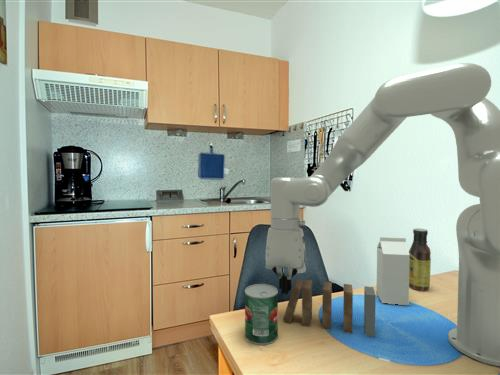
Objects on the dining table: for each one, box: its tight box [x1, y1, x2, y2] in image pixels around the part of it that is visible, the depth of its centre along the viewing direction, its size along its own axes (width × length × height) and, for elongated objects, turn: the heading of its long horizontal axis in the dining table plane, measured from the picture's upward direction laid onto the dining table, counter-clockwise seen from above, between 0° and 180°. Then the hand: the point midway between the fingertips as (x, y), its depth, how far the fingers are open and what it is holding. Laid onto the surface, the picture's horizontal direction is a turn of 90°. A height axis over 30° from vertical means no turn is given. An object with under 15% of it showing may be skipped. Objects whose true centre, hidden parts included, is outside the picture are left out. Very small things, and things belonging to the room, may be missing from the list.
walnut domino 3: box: [321, 281, 333, 331], centre depth 71 cm, size 2×5×10 cm, turn 162°
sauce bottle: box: [408, 227, 432, 292], centre depth 92 cm, size 7×6×20 cm
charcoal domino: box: [363, 285, 377, 338], centre depth 68 cm, size 2×5×10 cm, turn 162°
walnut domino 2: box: [301, 279, 313, 327], centre depth 72 cm, size 2×5×10 cm, turn 162°
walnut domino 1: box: [282, 277, 304, 324], centre depth 73 cm, size 2×5×10 cm, turn 162°
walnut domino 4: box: [342, 283, 354, 334], centre depth 69 cm, size 2×5×10 cm, turn 162°
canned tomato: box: [244, 283, 279, 346], centre depth 66 cm, size 8×8×11 cm
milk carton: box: [375, 236, 410, 306], centre depth 84 cm, size 7×7×19 cm
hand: (285, 292), depth 74 cm, fingers closed
